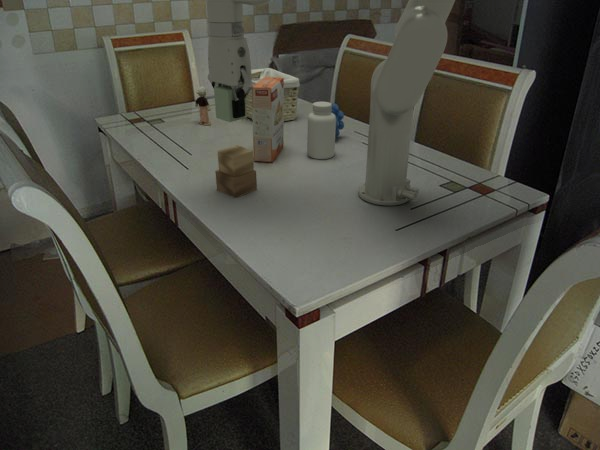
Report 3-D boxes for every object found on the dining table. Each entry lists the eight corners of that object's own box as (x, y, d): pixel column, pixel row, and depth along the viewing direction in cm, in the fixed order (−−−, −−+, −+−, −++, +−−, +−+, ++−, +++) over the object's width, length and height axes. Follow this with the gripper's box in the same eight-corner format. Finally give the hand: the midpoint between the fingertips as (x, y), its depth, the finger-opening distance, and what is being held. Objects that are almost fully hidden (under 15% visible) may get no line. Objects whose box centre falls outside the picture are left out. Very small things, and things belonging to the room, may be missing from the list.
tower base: (256, 189, 126) (256, 170, 123) (234, 198, 121) (233, 178, 119) (238, 182, 130) (237, 163, 128) (216, 189, 125) (215, 171, 123)
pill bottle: (326, 161, 142) (327, 108, 135) (301, 156, 146) (302, 104, 139) (339, 153, 148) (341, 102, 141) (315, 148, 152) (316, 98, 145)
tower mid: (253, 170, 123) (252, 151, 121) (234, 177, 120) (232, 157, 117) (238, 164, 127) (237, 145, 125) (219, 170, 123) (217, 150, 121)
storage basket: (232, 111, 190) (229, 70, 183) (271, 105, 197) (270, 66, 190) (259, 127, 172) (258, 83, 165) (301, 120, 179) (301, 78, 172)
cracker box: (274, 163, 141) (272, 87, 132) (253, 162, 142) (249, 86, 133) (285, 147, 153) (284, 76, 144) (266, 146, 154) (263, 75, 145)
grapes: (321, 146, 154) (322, 107, 148) (309, 140, 159) (309, 102, 153) (351, 139, 160) (353, 101, 154) (338, 134, 165) (339, 97, 159)
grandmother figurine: (216, 124, 175) (213, 86, 169) (209, 126, 172) (206, 89, 166) (200, 120, 179) (196, 84, 173) (192, 123, 176) (188, 86, 170)
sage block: (246, 117, 117) (245, 87, 114) (229, 122, 114) (227, 90, 111) (233, 113, 120) (231, 83, 117) (216, 117, 117) (213, 87, 114)
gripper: (266, 32, 105) (268, 118, 114) (216, 25, 116) (221, 105, 124) (237, 35, 100) (242, 125, 109) (188, 28, 111) (196, 110, 119)
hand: (231, 113), depth 116 cm, fingers closed on sage block, 5 cm apart
